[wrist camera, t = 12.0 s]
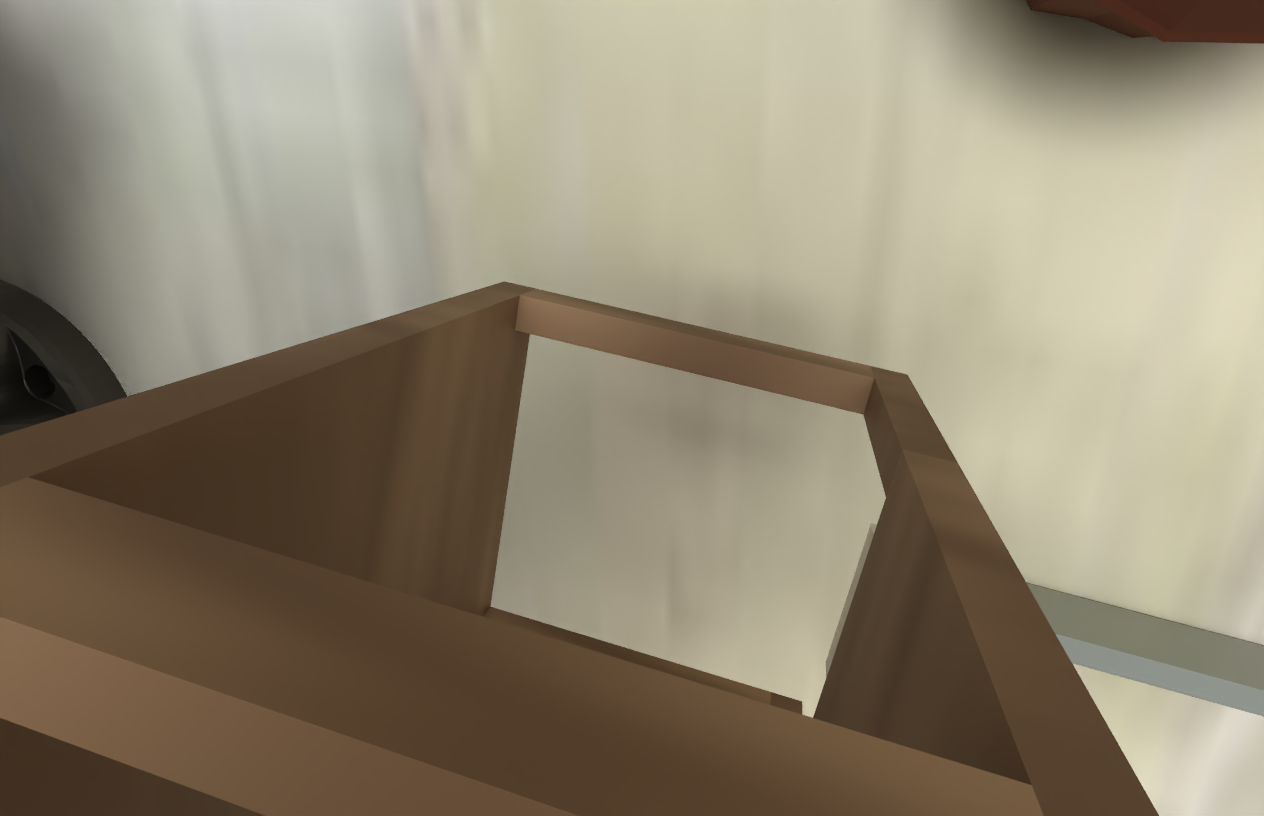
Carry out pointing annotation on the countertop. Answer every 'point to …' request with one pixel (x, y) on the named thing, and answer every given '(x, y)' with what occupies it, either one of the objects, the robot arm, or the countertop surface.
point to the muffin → (1169, 18)
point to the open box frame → (482, 608)
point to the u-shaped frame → (1156, 650)
